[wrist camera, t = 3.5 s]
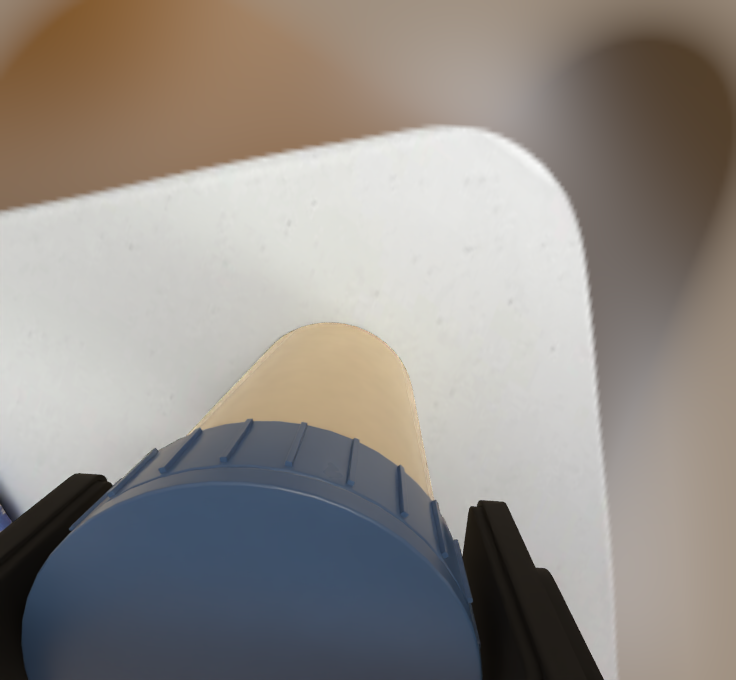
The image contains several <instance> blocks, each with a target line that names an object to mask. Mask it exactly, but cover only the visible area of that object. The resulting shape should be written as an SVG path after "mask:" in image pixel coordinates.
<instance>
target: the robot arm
mask: <svg viewBox="0 0 736 680" xmlns="http://www.w3.org/2000/svg"><path fill="white" fill-rule="evenodd" d="M111 487H113V485H112V484H111V483H110V482H107V479H106V477H105V476H103V475H96V474H82V473H78V474H74V475H72V476H71V477H69V478H68V479H67V480H65V481H64V482H63V483H62V484H60V485H59V486H58V487H57V488H55V489H54V490H53V491H52V492H50V493H49V494H48V495H47V496H45V497H44V498H43V499H41V500H40V501H39V502H38V503H36V504H35V505H34V506H33V507H31V508H30V509H29V510H28V511H26V512H25V513H24V514H23V515H21V516H20V517H19V518H18V519H16V520H15V521H14V522H12V523H11V524H10V525H9V526H7V527H6V528H5V529H4V530H2V531H1V532H0V680H28V678H27V674H26V671H25V668H24V661H23V654H22V646H21V637H22V619H23V615H24V610H25V606H26V601H27V598H28V595H29V593H30V590H31V588H32V586H33V583H34V581H35V579H36V576H37V574H38V572H39V571H40V569H41V568H42V566H43V565H44V563H45V562H46V560H47V559H48V557H49V556H50V554H51V553H52V552H53V551H54V549H55V548H56V547H57V546H58V545H59V544H60V543H61V542H62V541H63V540H64V539H65V538H66V537H67V536H68V534H69V533H70V532H72V531H70V530H69V528H70V527H71V526H72V525H73V524H74V523H75V522H76V521H77V520H78V519H79V518H80V517H81V516H82V515H83V514H84V513H85V512H86V511H87V510H88V509H89V508H90V507H92V506H93V505H94V504H95V503H96V502H97V501H98V500H99V499H100V498H101V497H102V496H103V495H104V494H105V493H106V492H107V491H108V490H109V489H110V488H111ZM462 559H463V563H464V567H465V571H466V575H467V579H468V583H469V587H470V591H471V595H472V599H473V602H472V603H471V605H472V610H473V614H474V618H475V622H476V626H477V630H478V635H479V639H480V643H481V648H480V653H481V664H482V674H483V678H482V680H604V679H603V677H602V675H601V673H600V671H599V669H598V667H597V665H596V663H595V661H594V659H593V657H592V655H591V653H590V651H589V649H588V647H587V645H586V643H585V641H584V639H583V637H582V635H581V633H580V631H579V629H578V627H577V625H576V623H575V621H574V619H573V617H572V615H571V613H570V611H569V609H568V606H567V604H566V602H565V600H564V598H563V596H562V594H561V592H560V590H559V588H558V586H557V584H556V582H555V580H554V578H553V577H552V575H551V574H550V572H549V571H548V570H547V569H545V568H535V565H534V563H533V561H532V559H531V557H530V555H529V552H528V550H527V548H526V546H525V544H524V541H523V539H522V537H521V535H520V533H519V531H518V528H517V526H516V524H515V522H514V520H513V518H512V515H511V513H510V511H509V509H508V507H507V505H506V503H505V502H499V501H485V500H480V501H479V502H478V504H477V507H474V506H471V507H470V508H469V513H468V520H467V527H466V534H465V541H464V549H463V556H462Z"/></svg>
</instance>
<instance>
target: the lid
mask: <svg viewBox="0 0 736 680" xmlns="http://www.w3.org/2000/svg"><path fill="white" fill-rule="evenodd" d="M359 441H360V440H359V439H357V438H354V439H351V438H348V437H346V436H343V435H340V434H338V433H335V432H333V431H330V430H325V429H321V428H317V427H313V426H309V425H307V423H306V422H301V424H298V423H290V422H282V421H253V419H247V420H246V421H245V422H239V423H231V424H224V425H220V426H216V427H212V428H208V429H204V430H202V429H201V428H197V429H195V430H194V431H193V432H192V433H191V434H190V435H188V436H185V437H183V438H180V439H178V440H176V441H175V442H173V443H171V444H169V445H167V446H166V447H164V448H162V449H160V450H159V451H158V450H157V449H156V448H155V449H153V450H152V451H151V452H150V453H148V454H147V455H146V456H145V457H144V458H143V459H142V460H141V461H140V462H139V463H138V464H137V465H136V466H135V467H134V468H133V469H132V470H131V471H130V472H129V473H128V474H127V475H126V476H124V477H123V478H121V479H120V480H119V481H118V482H117V483H116V484H115V485H114V486H113V487H111V488H110V489H109V490H108V491H107V492H106V493H105V494H104V495H103V496H102V497H101V498H100V499H99V500H98V501H97V502H96V503H95V504H94V505H93V506H92V507H90V508H89V509H88V510H87V511H86V512H85V513H84V514H83V515H82V516H81V517H80V518H79V519H78V520H77V521H76V522H75V523H74V524H73V525H72V526H71V527H70V528H69V530H70V531H72V532H70V533H69V534H68V536H67V537H66V538H65V539H64V540H63V541H62V542H61V543H60V544H59V545H58V546H57V547H56V548H55V549H54V551H53V552H52V553H51V554H50V556H49V557H48V559H47V560H46V562H45V563H44V565H43V566H42V568H41V569H40V571H39V572H38V574H37V576H36V579H35V581H34V583H33V586H32V588H31V590H30V593H29V595H28V598H27V601H26V606H25V610H24V615H23V619H22V637H21V646H22V654H23V661H24V668H25V671H26V674H27V678H28V680H482V678H483V674H482V664H481V653H480V648H481V643H480V639H479V635H478V630H477V626H476V622H475V618H474V614H473V610H472V605H471V603H472V602H473V599H472V595H471V591H470V587H469V583H468V579H467V575H466V571H465V567H464V563H463V559H462V554H461V550H460V546H459V543H458V540H457V539H456V540H453V538H452V536H451V533H450V531H449V529H448V527H447V524H446V522H445V520H444V518H443V517H442V515H441V514H440V510H439V505H438V503H437V501H436V500H433V501H432V500H431V499H430V497H429V496H428V495H427V494H426V493H425V492H424V490H423V489H422V488H421V487H420V486H419V484H418V483H417V482H415V481H414V480H413V479H412V478H411V477H410V476H409V475H408V474H407V473H406V472H405V469H404V467H403V466H402V465H399V466H397V465H396V464H395V463H393V462H392V461H390V460H389V459H387V458H386V457H384V456H383V455H382V454H380V453H379V452H377V451H375V450H373V449H371V448H369V447H367V446H366V445H364V444H362V443H360V442H359Z"/></svg>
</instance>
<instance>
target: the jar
mask: <svg viewBox="0 0 736 680" xmlns="http://www.w3.org/2000/svg"><path fill="white" fill-rule="evenodd" d="M247 419H253V421H282V422H290V423H298V424H301V422H306V423H307V425H309V426H313V427H317V428H321V429H325V430H330V431H333V432H335V433H338V434H340V435H343V436H346V437H348V438H351V439H354V438H357V439H359V440H360V441H359V442H360V443H362V444H364V445H366V446H367V447H369V448H371V449H373V450H375V451H377V452H379V453H380V454H382V455H383V456H384V457H386V458H387V459H389V460H390V461H392V462H393V463H395V464H396V465H397V466H399V465H402V466H403V467H404V469H405V472H406V473H407V474H408V475H409V476H410V477H411V478H412V479H413V480H414V481H415V482H417V483H418V484H419V486H420V487H421V488H422V489H423V490H424V492H425V493H426V494H427V495H428V496H429V497H430V499H431V500H432V501H433V500H434V496H433V491H432V486H431V481H430V476H429V470H428V465H427V460H426V455H425V450H424V445H423V440H422V435H421V430H420V425H419V419H418V414H417V409H416V404H415V399H414V394H413V389H412V385H411V381H410V377H409V375H408V373H407V370H406V368H405V366H404V365H403V363H402V361H401V360H400V358H399V357H398V356H397V354H396V353H395V352H394V351H393V350H392V349H391V348H390V347H389V346H388V345H387V344H386V343H385V342H384V341H382V340H381V339H380V338H378V337H377V336H375V335H373V334H372V333H370V332H368V331H366V330H363V329H361V328H358V327H355V326H351V325H348V324H342V323H317V324H311V325H307V326H303V327H300V328H298V329H296V330H293V331H291V332H289V333H288V334H286V335H284V336H283V337H281V338H280V339H279V340H278V341H276V342H275V343H274V344H273V345H272V346H271V347H270V348H269V349H268V350H267V351H266V352H265V353H264V354H263V355H262V356H261V357H260V359H259V360H258V361H257V362H256V363H255V364H254V365H253V366H252V367H251V368H250V369H249V370H248V371H247V372H246V373H245V374H244V375H243V376H242V377H241V378H240V380H239V381H238V382H237V383H236V384H235V385H234V386H233V387H232V388H231V389H230V390H229V391H228V392H227V393H226V394H225V395H224V396H223V397H222V398H221V399H220V401H219V402H218V403H217V404H216V405H215V406H214V407H213V408H212V409H211V410H210V411H209V412H208V413H207V414H206V415H205V416H204V417H203V418H202V419H201V420H200V422H199V423H198V424H197V425H196V426H195V427H194V428H193V429H192V430H191V431H190V432H189V433H188V434H187V435H186V436H188V435H190V434H191V433H192V432H193V431H194V430H195V429H197V428H201V429H202V430H204V429H208V428H212V427H216V426H220V425H224V424H231V423H239V422H245V421H246V420H247Z"/></svg>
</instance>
